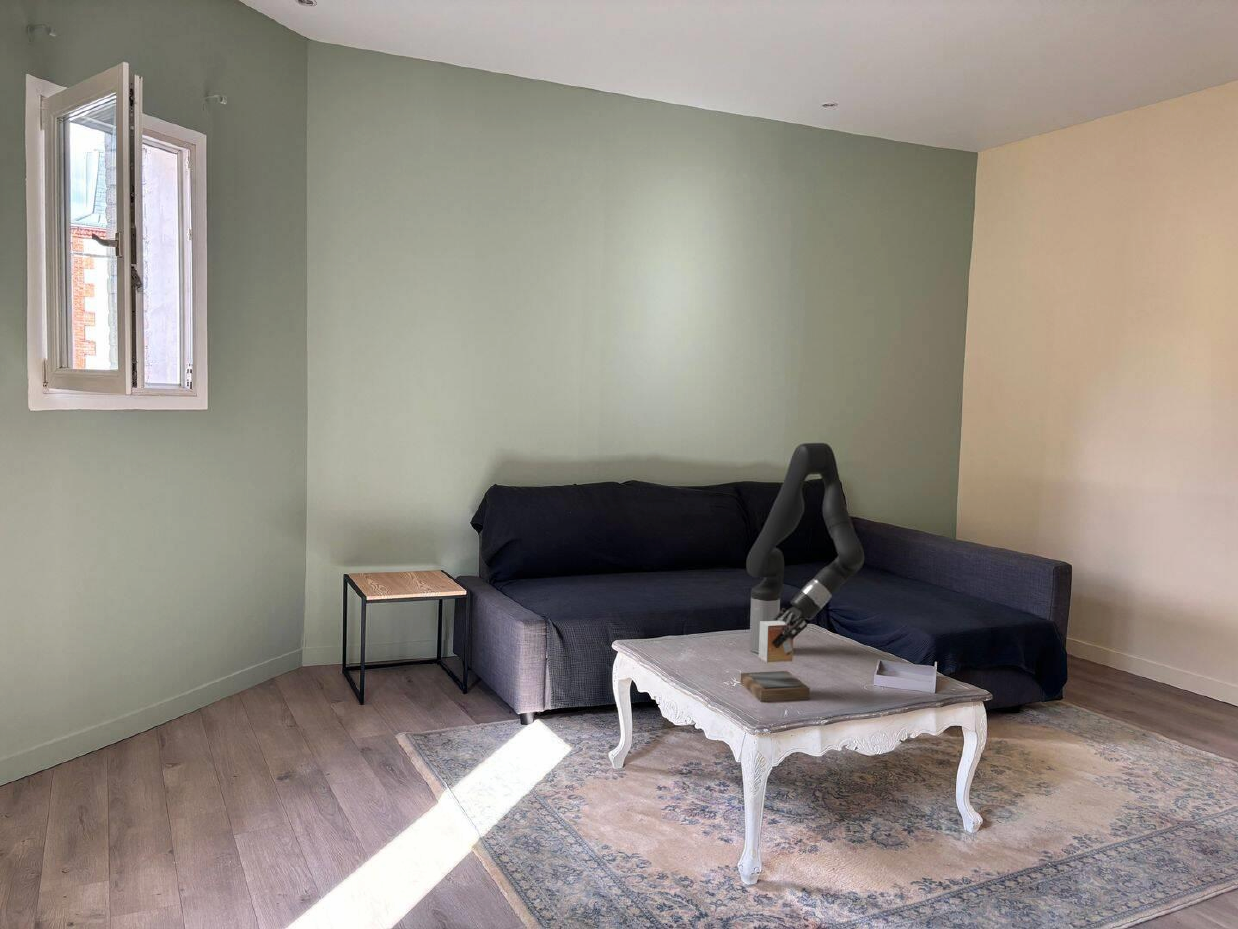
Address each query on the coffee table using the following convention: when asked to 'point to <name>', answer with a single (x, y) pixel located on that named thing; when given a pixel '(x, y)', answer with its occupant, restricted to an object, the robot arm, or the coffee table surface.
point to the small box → (767, 649)
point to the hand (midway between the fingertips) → (770, 642)
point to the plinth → (774, 686)
